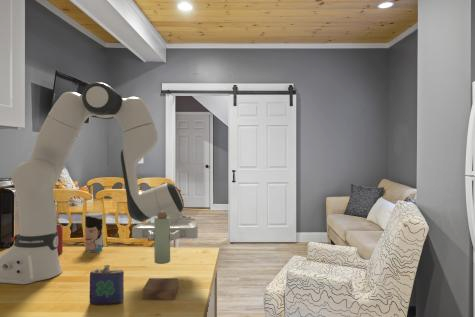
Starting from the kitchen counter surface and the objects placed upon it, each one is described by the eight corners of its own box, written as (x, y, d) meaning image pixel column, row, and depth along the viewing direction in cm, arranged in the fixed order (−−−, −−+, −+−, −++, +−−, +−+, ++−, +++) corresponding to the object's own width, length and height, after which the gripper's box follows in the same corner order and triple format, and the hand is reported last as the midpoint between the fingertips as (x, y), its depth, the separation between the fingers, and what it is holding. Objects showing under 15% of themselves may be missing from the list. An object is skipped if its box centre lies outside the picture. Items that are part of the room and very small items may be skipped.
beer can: (55, 256, 145) (55, 226, 145) (40, 255, 146) (40, 225, 146) (66, 251, 152) (66, 222, 151) (51, 250, 153) (51, 221, 152)
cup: (84, 248, 157) (84, 213, 156) (101, 246, 160) (101, 212, 159) (86, 252, 151) (86, 216, 150) (103, 250, 154) (103, 214, 153)
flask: (124, 300, 106) (124, 263, 105) (122, 304, 103) (122, 266, 102) (91, 301, 105) (90, 263, 104) (87, 305, 102) (87, 267, 101)
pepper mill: (153, 263, 108) (152, 212, 107) (156, 259, 113) (155, 209, 112) (169, 263, 108) (168, 212, 108) (171, 258, 113) (171, 209, 112)
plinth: (142, 299, 106) (142, 289, 106) (149, 287, 115) (149, 278, 115) (174, 299, 106) (174, 289, 106) (178, 287, 115) (178, 278, 115)
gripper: (137, 217, 123) (126, 226, 109) (199, 217, 123) (196, 226, 109) (137, 236, 123) (126, 247, 109) (199, 236, 123) (196, 247, 110)
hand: (161, 237), depth 109 cm, fingers closed on pepper mill, 5 cm apart
